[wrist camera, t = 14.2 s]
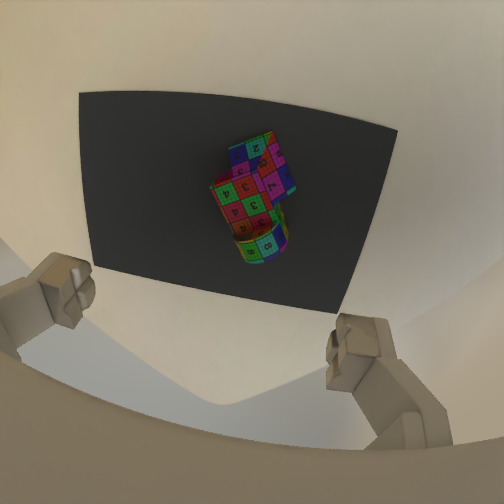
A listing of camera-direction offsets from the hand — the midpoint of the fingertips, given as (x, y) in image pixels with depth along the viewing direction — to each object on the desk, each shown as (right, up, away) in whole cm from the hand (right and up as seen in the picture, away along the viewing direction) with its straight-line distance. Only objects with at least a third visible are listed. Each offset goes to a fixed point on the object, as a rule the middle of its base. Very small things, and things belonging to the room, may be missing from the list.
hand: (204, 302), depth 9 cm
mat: (-1, +4, +10) cm, 11 cm away
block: (+2, +5, +9) cm, 11 cm away
